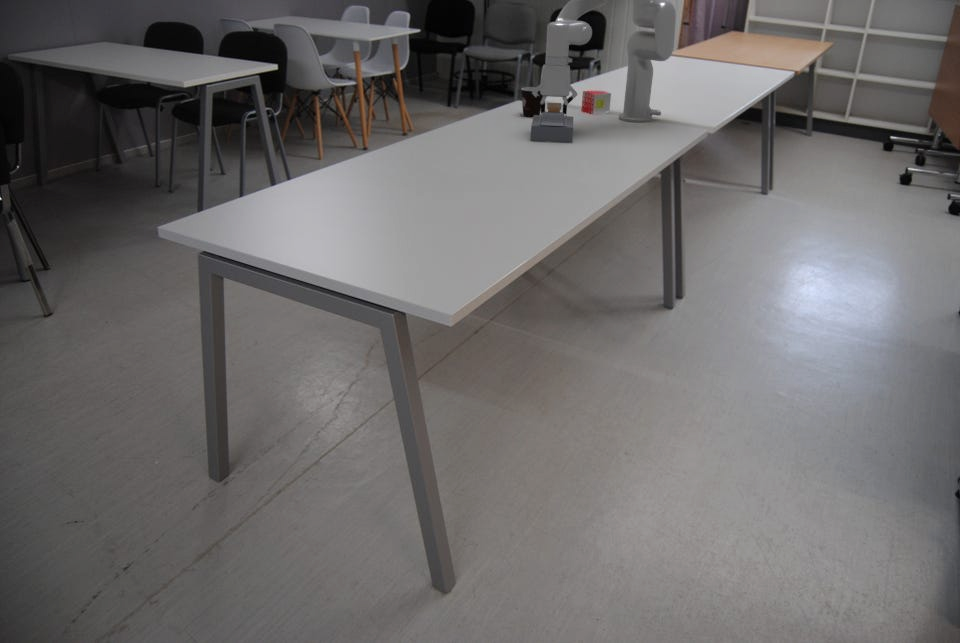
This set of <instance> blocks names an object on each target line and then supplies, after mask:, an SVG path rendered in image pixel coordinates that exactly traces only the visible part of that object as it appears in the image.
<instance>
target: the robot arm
mask: <svg viewBox="0 0 960 643" xmlns="http://www.w3.org/2000/svg"><path fill="white" fill-rule="evenodd" d="M608 1H609V0H569V1H568V2H567V3H566V4H565V5H564V6H563V8H562V9H561V11H560V12H559V14H558V16H557V17H556V19H555V21H551V22H549V23H548V24H547V28H546V29H547V30H546V48H545V62H544V63H545V64H543V65H542V69H541V75H540V84H538V85H537V86H536V87H537V88H536V89H534V90H533V91H532V94H533V95H534V96H535V97H536V99H537V100H538V101H539V102H540V103H541V111H540V114H542V112H546V99H547V98H548V97H554V98H555V97H556V98H558V97H559V98H561V99H562V100H563V104H562V112H565V114H564V115H567V112H568V109H567V108H568V105H569V104H570V103H571V102H572V101H573V99H575V98H576V97H578V91H577V90H575V89H574V88H573V86H572V85H571V68H570V67H571V66H570V65H569V64H570V63H571V64H573V58H571V57H569V52H570V51H569V46H571V45H575V46H582V45H585V44H587V43H588V42H589V41H590V40H591V38H592V36H593V29H592V26H590V24H589V23H587V22H586V21H583V20H578V19H579V18H580V17H581V16H583V15H584V14H587V13H588V12H591V11H593V10H596V9H598V8H600V7H603V6H605V5H606V4H607V3H608ZM676 16H677V15H676V9H675V6H674V5H673V4H672V2H671V1H669V0H632V22H633V23H634V25H635V26H637V27H639V28H644V29H653V30H654V31H648V30H638V31H635V32H632V34H631V35H629V37H628V39H627V44H626V49H627V50H626V51H627V73H626V82H625V83H626V84H625V90H624V91H625V93H624V102H623V112H622V113H619V115H618V119H619V120H622V121H627V122H635V123H645V122H650V121H652V120H653V116H662V110H661V109H654V108H651V106H650V103H651V102H650V101H651V93H652V86H653V77H654V67H653V63H652V61H656V62H665V61H667V60H668V59H670V57H671V56H672V54H673V51H674V46H675V36H676V21H677V20H676V18H677V17H676ZM539 90H540V94H541V95H542V96H543V97H542V98H541V97H540V96H539V95H538V93H537V92H538V91H539ZM570 93H571V95H570ZM568 96H569V97H568ZM567 97H568V98H567Z"/></svg>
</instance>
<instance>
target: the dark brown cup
mask: <svg viewBox="0 0 960 643" xmlns="http://www.w3.org/2000/svg"><path fill="white" fill-rule="evenodd" d="M537 87H538V86H536V87H534V86H527V87H522V88H521V89H520V90H521V91H520V92H521V103H522V105H521V106H522V116H523V117H524V118H532V117H534V115H540V114H541V103H540V102H539V101H538V100H537V99H536V97H535V96H534V95H533V94H532V91H533V90H534V89H536V88H537ZM537 93H538V95H539V96H540V97H541V98H542V97H543V96H542V95H541V94H540V90H539V91H538V92H537Z"/></svg>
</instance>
